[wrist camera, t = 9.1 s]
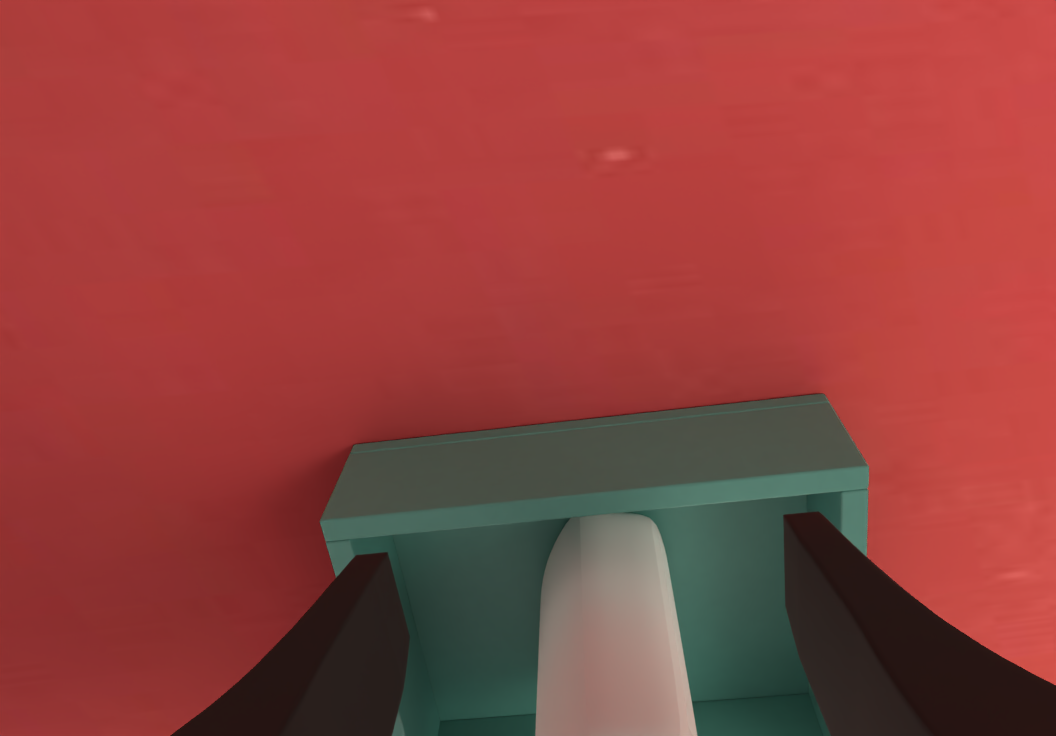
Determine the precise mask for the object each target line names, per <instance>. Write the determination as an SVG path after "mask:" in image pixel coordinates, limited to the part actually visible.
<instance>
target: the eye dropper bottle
mask: <svg viewBox="0 0 1056 736" xmlns="http://www.w3.org/2000/svg"><path fill="white" fill-rule="evenodd" d="M535 736H697V730H696V724H695V718H694V712H693V706H692V700H691V694H690V689H689V683H688V677H687V671H686V665H685V659H684V653H683V648H682V642H681V636H680V630H679V624H678V619H677V613H676V607H675V601H674V596H673V590H672V584H671V578H670V573H669V567H668V561H667V556H666V552H665V547H664V544H663V541H662V538H661V534H660V532H659V530H658V528H657V525H656V524H655V523H654V522H653V521H652V520H651V519H650V518H649V517H646V516H643V515H640V514H633V513H613V514H603V515H593V516H583V517H572V518H570V519H569V521H568V522H567V523H566V525H565V526H564V528H563V529H562V531H561V533H560V534H559V536H558V538H557V540H556V542H555V544H554V546H553V548H552V551H551V553H550V556H549V558H548V561H547V565H546V568H545V572H544V577H543V582H542V589H541V603H540V628H539V653H538V679H537V705H536V731H535Z"/></svg>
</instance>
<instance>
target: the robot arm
mask: <svg viewBox="0 0 1056 736" xmlns="http://www.w3.org/2000/svg"><path fill="white" fill-rule="evenodd" d="M783 527H784V572H785V606H786V610H787V614H788V618H789V622H790V626H791V630H792V633H793V637H794V641H795V644H796V648H797V651H798V655H799V658H800V661H801V663H802V666H803V668H804V671H805V673H806V676H807V678H808V681H809V683H810V686H811V688H812V691H813V693H814V696H815V698H816V701H817V703H818V706H819V708H820V711H821V713H822V715H823V718H824V720H825V723H826V725H827V728H828V730H829V733H830V735H831V736H1056V685H1054V684H1052V683H1050V682H1048V681H1046V680H1044V679H1042V678H1040V677H1038V676H1036V675H1034V674H1032V673H1030V672H1028V671H1027V670H1025V669H1023V668H1021V667H1019V666H1017V665H1016V664H1014V663H1012V662H1010V661H1008V660H1006V659H1005V658H1003V657H1001V656H999V655H998V654H996V653H994V652H993V651H991V650H989V649H988V648H986V647H984V646H983V645H981V644H979V643H978V642H976V641H975V640H973V639H972V638H970V637H969V636H967V635H966V634H964V633H962V632H961V631H959V630H958V629H956V628H955V627H953V626H952V625H950V624H949V623H947V622H946V621H944V620H943V619H942V618H940V617H939V616H937V615H936V614H935V613H933V612H932V611H931V610H929V609H928V608H927V607H926V606H924V605H923V604H922V603H920V602H919V601H918V600H916V599H915V598H914V597H913V596H911V595H910V594H909V593H908V592H907V591H905V590H904V589H903V588H902V587H900V586H899V585H898V584H897V583H896V582H895V581H893V580H892V579H891V578H890V577H889V576H888V575H887V574H885V573H884V572H883V571H882V570H881V569H880V568H878V567H877V566H876V565H875V564H874V563H873V562H872V561H871V560H869V559H868V558H867V557H866V556H865V555H864V554H863V553H862V552H861V551H860V550H859V549H858V548H857V547H856V546H854V545H853V544H852V543H851V542H850V541H849V540H848V539H847V538H846V537H845V536H844V535H843V534H842V533H841V532H840V531H839V530H838V529H837V528H836V527H835V526H834V525H833V524H832V523H831V522H830V521H829V520H828V519H827V518H826V517H825V516H824V515H822V514H821V513H820V512H819V511H817V512H807V513H796V514H785V515H783ZM409 642H410V635H409V631H408V628H407V624H406V620H405V616H404V612H403V609H402V605H401V601H400V597H399V593H398V590H397V586H396V582H395V578H394V574H393V570H392V567H391V563H390V559H389V555H388V552H383V553H373V554H362V555H356V556H355V557H354V558H353V559H352V560H351V561H350V562H349V563H348V565H347V566H346V567H345V568H344V569H343V570H342V572H341V573H340V574H339V575H338V576H337V577H336V579H335V580H334V581H333V582H332V583H331V584H330V586H329V587H328V588H327V589H326V590H325V591H324V593H323V594H322V595H321V596H320V597H319V598H318V600H317V601H316V602H315V603H314V604H313V605H312V607H311V608H310V609H309V610H308V611H307V612H306V613H305V614H304V616H303V617H302V618H301V619H300V620H299V621H298V622H297V623H296V625H295V626H294V627H293V628H292V629H291V630H290V631H289V632H288V633H287V634H286V635H285V636H284V637H283V638H282V639H281V640H280V641H279V642H278V643H277V644H276V645H275V646H274V647H273V649H272V650H271V651H270V652H269V653H268V654H267V655H266V656H265V657H264V658H263V659H262V660H261V661H260V662H259V663H258V664H257V665H256V666H255V667H254V668H253V669H252V670H251V671H249V672H248V673H247V674H246V675H245V676H244V677H243V678H242V679H241V680H240V681H239V682H237V683H236V684H235V685H234V686H233V687H232V688H230V689H229V690H228V691H227V692H226V693H225V694H223V695H222V696H221V697H220V698H219V699H218V700H216V701H215V702H214V703H213V704H212V705H210V706H209V707H208V708H207V709H205V710H204V711H203V712H201V713H200V714H199V715H197V716H196V717H195V718H193V719H192V720H191V721H189V722H188V723H187V724H185V725H184V726H183V727H181V728H180V729H179V730H177V731H176V732H175V733H173V734H172V735H171V736H392V733H393V730H394V726H395V722H396V718H397V714H398V710H399V706H400V702H401V698H402V694H403V690H404V683H405V676H406V668H407V660H408V651H409Z"/></svg>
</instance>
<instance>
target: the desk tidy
mask: <svg viewBox="0 0 1056 736" xmlns="http://www.w3.org/2000/svg"><path fill="white" fill-rule="evenodd" d="M868 486H869V466H868V464H867V463H866V461H865V459H864V458H863V456H862V454H861V453H860V451H859V450H858V448H857V446H856V445H855V443H854V441H853V440H852V438H851V437H850V435H849V433H848V432H847V430H846V428H845V427H844V425H843V423H842V422H841V420H840V419H839V417H838V415H837V414H836V412H835V410H834V409H833V407H832V405H831V404H830V402H829V401H828V399H827V397H826V396H825V394H814V395H804V396H795V397H786V398H777V399H768V400H758V401H749V402H740V403H731V404H722V405H712V406H703V407H694V408H685V409H676V410H666V411H657V412H648V413H639V414H630V415H621V416H611V417H602V418H593V419H584V420H575V421H565V422H556V423H547V424H538V425H529V426H519V427H510V428H501V429H492V430H483V431H473V432H464V433H455V434H446V435H437V436H427V437H418V438H409V439H400V440H391V441H381V442H372V443H363V444H355V445H353V448H352V450H351V452H350V455H349V456H348V459H347V461H346V463H345V465H344V468H343V470H342V472H341V474H340V477H339V479H338V481H337V483H336V486H335V488H334V490H333V492H332V494H331V497H330V499H329V501H328V503H327V506H326V508H325V510H324V512H323V515H322V517H321V519H320V525H321V528H322V532H323V535H324V538H325V541H326V546H327V549H328V552H329V556H330V559H331V562H332V566H333V569H334V572H335V576H336V577H337V576H338V575H339V574H340V573H341V572H342V570H343V569H344V568H345V567H346V566H347V565H348V563H349V562H350V561H351V560H352V559H353V558H354V557H355V556H356V555H362V554H373V553H383V552H388V555H389V559H390V563H391V567H392V570H393V574H394V578H395V582H396V586H397V590H398V593H399V597H400V601H401V605H402V609H403V612H404V616H405V620H406V624H407V628H408V631H409V635H410V642H409V651H408V660H407V668H406V676H405V683H404V690H403V694H402V698H401V702H400V706H399V710H398V714H397V718H396V722H395V726H394V730H393V733H392V736H535V731H536V705H537V679H538V653H539V628H540V603H541V589H542V582H543V577H544V572H545V568H546V565H547V561H548V558H549V556H550V553H551V551H552V548H553V546H554V544H555V542H556V540H557V538H558V536H559V534H560V533H561V531H562V529H563V528H564V526H565V525H566V523H567V522H568V521H569V519H570V518H572V517H583V516H593V515H603V514H613V513H633V514H640V515H643V516H646V517H649V518H650V519H651V520H652V521H653V522H654V523H655V524H656V525H657V528H658V530H659V532H660V534H661V538H662V541H663V544H664V547H665V552H666V556H667V561H668V567H669V573H670V578H671V584H672V590H673V596H674V601H675V607H676V613H677V619H678V624H679V630H680V636H681V642H682V648H683V653H684V659H685V665H686V671H687V677H688V683H689V689H690V694H691V700H692V706H693V712H694V718H695V724H696V730H697V736H831V735H830V733H829V730H828V728H827V725H826V723H825V720H824V718H823V715H822V713H821V711H820V708H819V706H818V703H817V701H816V698H815V696H814V693H813V691H812V688H811V686H810V683H809V681H808V678H807V676H806V673H805V671H804V668H803V666H802V663H801V661H800V658H799V655H798V651H797V648H796V644H795V641H794V637H793V633H792V630H791V626H790V622H789V618H788V614H787V610H786V606H785V572H784V527H783V515H785V514H796V513H807V512H817V511H819V512H820V513H821V514H822V515H824V516H825V517H826V518H827V519H828V520H829V521H830V522H831V523H832V524H833V525H834V526H835V527H836V528H837V529H838V530H839V531H840V532H841V533H842V534H843V535H844V536H845V537H846V538H847V539H848V540H849V541H850V542H851V543H852V544H853V545H854V546H856V547H857V548H858V549H859V550H860V551H861V552H862V553H863V554H864V555H865V556H866V557H867V524H868V489H867V488H868Z"/></svg>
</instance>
